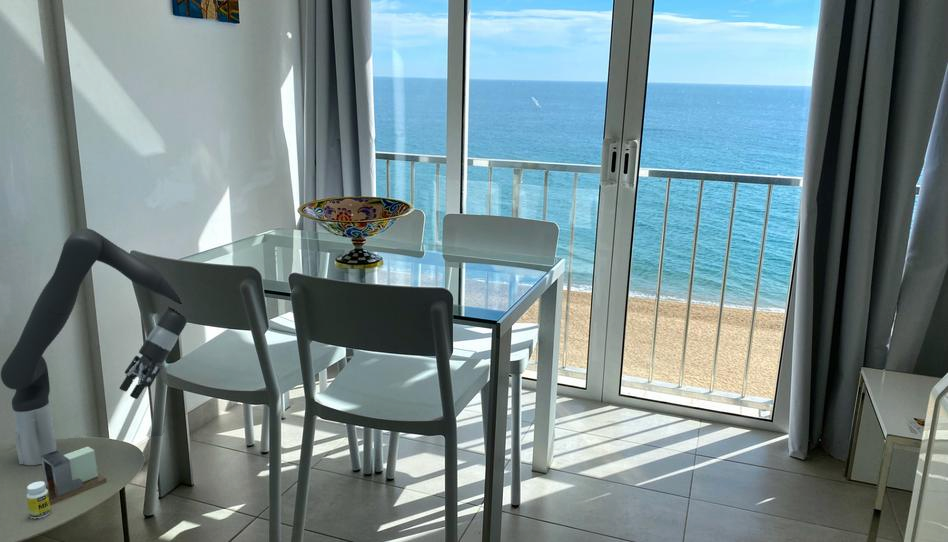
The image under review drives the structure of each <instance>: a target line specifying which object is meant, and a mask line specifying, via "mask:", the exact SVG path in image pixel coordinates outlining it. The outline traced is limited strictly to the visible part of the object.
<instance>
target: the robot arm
mask: <svg viewBox="0 0 948 542" xmlns="http://www.w3.org/2000/svg"><path fill="white" fill-rule="evenodd" d="M96 262H100V263H103V264H105V265H107V266H109V267H111V268H113V269H115V270H117V271H118V272H119V273H121V274H122V275H124V277H126V278H127V279H128V280H129V281H131V282H132V283H134V284H135V285H137V286H138V287H141V288H143V289H144V290H147V291H150V292H152V293H153V294H157V295H159V296H162V297H165V298H168V299H170V300H171V301H172V300H173V301H175V302H177V303H179V304H182V303H181V301H180V298H179V297H178V295H177V294H176V293H175V291H174V290H173V289H172V288H171V286H170V285H169V284H168V282H167V281H166V280H165V279H164V278H163V276H162V274H161V273H160V272H159V271H158V270H157V269H156V268H154V267H153V266H154V265H153V266H151V265H152V264H151V263H149V264H148V262H147V263H146V261H145V262H144V260H142V259H140V258H139V257H137V256H135V255H134V254H131V253H129V252H128V251H127V250H125V249H123V248H122V247H120V246H118V245H116V244H115V243H114V242H112V241H111V240H109V239H108V238H106V237H105V236H103V235H102V234H100V233H98V232H97V231H95V230H94V229H91V228H85V227H84V228H78V229H75V230H74V231H73V232H72V233H71V234H70V235H69V236H68V237H67V239H66V240H65V242H64V244H63V247H62V249H61V254H60V256H59V259H58V261H57V265H56V267H55V270H54V272H53V274H52V276H51V278H50V279H49V280H48V282H47V283H46V285H45V286H44V288H43V289H42V291H41V293H40V294H39V296H38V297H37V299H36V302H35V304H34V305H33V308H32V309H31V312H30V315H29V318H28V319H27V321H26V324H25V325H24V328H23V330H22V332H21V335H20V337H19V339H18V342H17V343H16V345H15V346H14V347H13V349H12V351H11V352H10V354H9V356H8V357H7V358H6V360H5V362H4V363H3V364H2V367H1V368H0V369H1V370H0V380H1V382H2V384H3V385H4V386H5V387H6V388H8V389H10V390H15V393H14V395H13V397H12V399H11V408H12V412H13V413H12V414H13V418H14V424H15V430H16V433H15V434H14V437H13V438H14V442H15V446H16V447H15V449H16V453H17V458H18V464H19V465H25V466H39V465H42V460H41V456H42V455H45V454H48V453H51V452H54V451H56V450H57V451H58V448H57V443H56V436H55V431H54V424H53V419H52V412H51V405H50V401H49V397H50V393H51V392H50V391H51V387H50V378H49V369H48V364H47V362H46V359H45V358H44V357H43V355H44V353H45V351H46V350H47V349H48V347H49V346H50V345H51V344H52V343H53V341H54V340H55V339H56V337H57V336H58V335H59V334H60V332H61V331H62V330H63V328H64V327H65V326H66V324H67V321H68V320H69V318H70V316H71V314H72V312H73V310H74V308H75V305H76V303H77V300H78V299H77V298H78V295H79V291H80V289H81V285H82V283H83V281H84V279H85V278H86V276H87V275H88V273H89V272H90V270H91V268H92V267H93V265H94V264H95V263H96ZM150 264H151V265H150ZM187 323H188V321H187V322H186V318H185V317H184V316H182V315H181V314H180V313H178V312H177V311H175V310H174V309H172V308H170V307H169V306H168V307H167V309H166V310H165V312H164V313H163V314H162V316H161V318H160V319H159V321H158V323H157V324H156V325H155V327H154V328H153V329H152V330H151V331H150V333H149V335H148V336H147V338H146V340H145V341H144V343H143V344H142V346H141V347H140V348H139V350H138V353H139V354H141V356H138V355H135V356H134V357H133V359H132V360H131V362H130V364H129V365H128V366H127V368H126V369H125V371H124V374H125V378H124V380H123V381H122V382H121V384H120V386H119V390H121V391H122V392H124V393H125V392H127V391H128V390H129V388H130V387H131V385H133V382H134V380H135V379H137V378H138V381H137V384H136V385H135V386H134V388H133V389H132V391H131V392H130V395H129V396H130V397H131V398H133V399H135V400H138V398H139V397H140V396H141V394H142V392H143V391H144V389H146V388H147V387H148V388H150V387H151V386H152V384H153V383H154V381H155V380H156V378H157V377H158V374H159V373H160V371H161V368H160V367H158V366H157V364H161V365H163V364H164V363H165V361H166V359H167V357H168V356H169V354H170V353H171V351H172V350H173V348H174V346H175V345H176V343H177V341H178V338H179V336H180V335H181V333H182V332H183V330H184V329H185V327H186V325H187Z"/></svg>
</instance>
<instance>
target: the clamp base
mask: <svg viewBox="0 0 948 542" xmlns="http://www.w3.org/2000/svg"><path fill="white" fill-rule="evenodd" d="M64 455H65V454H62V453H61V452H60V451H58V449H57V450H56V451H54V452H51V453H48V454H45V455H42V456H41V460H42V464H41V466H42V470H43V477H44V482H45V486H46V489H47V490H48V494H49V501H50V506H51V505H54V504H57V503H59V502H61V501H63V500H66V499H68V498H70V497H71V498H72V497H73V496H76V495H78V494H81V493H83V492H85V491H88V490H90V489H93V488H96V487H97V486H100V485H103V484H106V483H107V477H105V476H104V475H102V474H101V473H99V472H98V476H97V477H95V478H92V479H90V480H87V481H85V482H82V480H81V479H80V478H78V479H76V480H73V479H72V473H71V467H70V461H69V459H68V458H67V457H65V456H64Z"/></svg>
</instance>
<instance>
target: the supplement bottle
mask: <svg viewBox="0 0 948 542" xmlns="http://www.w3.org/2000/svg"><path fill="white" fill-rule="evenodd" d="M26 491H27V494H26V500H27V507H28V511H29V517H30V518H31V519H32V518H34V519H33V520H36V518H39V519H43V518H46V517H47V516H48V515H50V514H51V512H52V509H51V505H50V501H49V494H48V490H47V489H46V483H45V481H34V482H32V483H30V484H29V485H27V486H26ZM42 517H43V518H42Z"/></svg>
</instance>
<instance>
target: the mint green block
mask: <svg viewBox="0 0 948 542" xmlns="http://www.w3.org/2000/svg"><path fill="white" fill-rule="evenodd" d="M63 455H64V456H65V457H67V458H68V459H69V461H70V467H71V473H72V479H73V480H76V479H78V478H80V479H81V480H82V482H85V481H87V480H90V479H92V478H95V477H97V476H98V473H99V472H98V467H97V461H96V460H97V459H96V453H95V450H94V449H93V448H91V447H90V446H85V447H82V448H80V449H77V450H75V451H71V452H68V453H66V454H63Z"/></svg>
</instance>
